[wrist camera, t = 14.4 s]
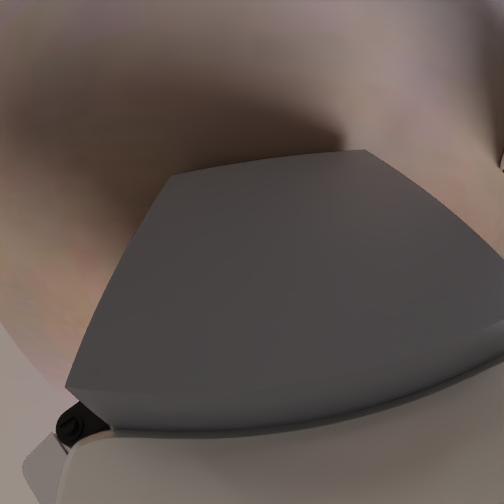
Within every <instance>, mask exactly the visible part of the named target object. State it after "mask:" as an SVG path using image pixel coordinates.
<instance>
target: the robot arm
mask: <svg viewBox="0 0 504 504" xmlns="http://www.w3.org/2000/svg"><path fill="white" fill-rule="evenodd" d="M22 468H23V474H24V477H25V479H26V481H27V483H28V484H29V486H30V488H31V490H32V491H33V493H34V495H35V496H36V498H37V500H38V501H39V503H40V504H504V355H502V356H499V357H497V358H494V359H492V360H490V361H488V362H486V363H484V364H482V365H480V366H478V367H476V368H474V369H471V370H469V371H467V372H465V373H463V374H461V375H458V376H456V377H454V378H452V379H449V380H447V381H445V382H442V383H440V384H438V385H435V386H433V387H430V388H427V389H425V390H422V391H419V392H417V393H414V394H411V395H408V396H405V397H402V398H399V399H396V400H393V401H390V402H387V403H384V404H380V405H377V406H373V407H370V408H366V409H362V410H359V411H355V412H351V413H346V414H342V415H338V416H333V417H328V418H324V419H318V420H313V421H307V422H302V423H295V424H289V425H281V426H273V427H265V428H255V429H243V430H227V431H155V430H137V429H113V428H112V427H111V426H110V425H108V424H107V423H106V422H104V421H103V420H102V419H101V418H99V417H98V416H97V415H96V414H95V413H93V412H92V411H91V410H90V409H89V408H87V407H86V406H85V405H84V404H83V403H82V402H80V401H79V402H78V403H76V404H75V405H74V406H72V407H71V408H69V409H68V410H67V411H65V412H64V413H63V414H62V415H61V416H60V418H59V419H58V421H57V425H56V433H55V434H54V433H52V432H51V433H50V434H49V435H48V436H47V437H46V438H45V439H44V440H43V441H42V442H41V443H40V444H39V445H38V446H37V447H36V448H35V449H34V450H33V451H32V452H31V453H30V454H29V455H28V456H27V457H26V459H25V460H24V462H23V466H22Z"/></svg>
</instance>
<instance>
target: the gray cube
mask: <svg viewBox="0 0 504 504" xmlns="http://www.w3.org/2000/svg"><path fill="white" fill-rule="evenodd" d="M502 355H504V260H503V258H502V257H501V256H500V255H499V254H498V253H497V252H496V251H495V250H494V249H493V248H492V247H491V246H490V245H489V244H488V243H486V242H485V241H484V240H483V239H482V238H481V237H480V236H479V235H478V234H477V233H476V232H475V231H474V230H473V229H471V228H470V227H469V226H468V225H467V224H466V223H465V222H464V221H462V220H461V219H460V218H459V217H458V216H457V215H455V214H454V213H453V212H452V211H451V210H449V209H448V208H447V207H446V206H444V205H443V204H442V203H441V202H439V201H438V200H437V199H436V198H434V197H433V196H432V195H431V194H429V193H428V192H427V191H425V190H424V189H423V188H421V187H420V186H419V185H417V184H416V183H414V182H413V181H412V180H410V179H409V178H407V177H406V176H405V175H403V174H402V173H400V172H399V171H397V170H396V169H394V168H393V167H391V166H390V165H388V164H387V163H385V162H384V161H382V160H381V159H379V158H378V157H376V156H375V155H373V154H371V153H370V152H368V151H366V150H351V151H337V152H324V153H313V154H303V155H294V156H286V157H277V158H270V159H262V160H255V161H249V162H242V163H236V164H230V165H224V166H218V167H212V168H207V169H202V170H196V171H191V172H186V173H181V174H177V175H172V176H170V177H169V179H168V180H167V182H166V183H165V185H164V186H163V188H162V190H161V191H160V193H159V194H158V196H157V197H156V199H155V201H154V202H153V204H152V205H151V207H150V209H149V210H148V212H147V214H146V215H145V217H144V219H143V220H142V222H141V224H140V225H139V227H138V229H137V231H136V232H135V234H134V236H133V238H132V239H131V241H130V243H129V245H128V247H127V248H126V250H125V252H124V254H123V256H122V258H121V259H120V261H119V263H118V265H117V267H116V269H115V271H114V273H113V275H112V277H111V279H110V281H109V283H108V285H107V287H106V289H105V291H104V293H103V295H102V297H101V299H100V301H99V303H98V306H97V308H96V310H95V312H94V314H93V317H92V319H91V321H90V323H89V326H88V328H87V330H86V333H85V335H84V337H83V340H82V342H81V345H80V347H79V350H78V352H77V355H76V357H75V360H74V362H73V365H72V368H71V370H70V373H69V376H68V379H67V382H66V384H65V388H66V389H67V390H68V391H70V392H71V393H72V394H73V395H74V396H75V397H76V398H77V399H78V400H79V401H80V402H82V403H83V404H84V405H85V406H86V407H87V408H89V409H90V410H91V411H92V412H93V413H95V414H96V415H97V416H98V417H99V418H101V419H102V420H103V421H104V422H106V423H107V424H108V425H110V426H111V427H112V428H113V429H137V430H155V431H227V430H243V429H255V428H265V427H273V426H281V425H289V424H295V423H302V422H307V421H313V420H318V419H324V418H328V417H333V416H338V415H342V414H346V413H351V412H355V411H359V410H362V409H366V408H370V407H373V406H377V405H380V404H384V403H387V402H390V401H393V400H396V399H399V398H402V397H405V396H408V395H411V394H414V393H417V392H419V391H422V390H425V389H427V388H430V387H433V386H435V385H438V384H440V383H442V382H445V381H447V380H449V379H452V378H454V377H456V376H458V375H461V374H463V373H465V372H467V371H469V370H471V369H474V368H476V367H478V366H480V365H482V364H484V363H486V362H488V361H490V360H492V359H494V358H497V357H499V356H502Z"/></svg>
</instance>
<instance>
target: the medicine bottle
mask: <svg viewBox="0 0 504 504" xmlns="http://www.w3.org/2000/svg"><path fill="white" fill-rule="evenodd" d="M500 169H501V171H502V172H503V173H504V153H503V157H502V160H501V163H500Z"/></svg>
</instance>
